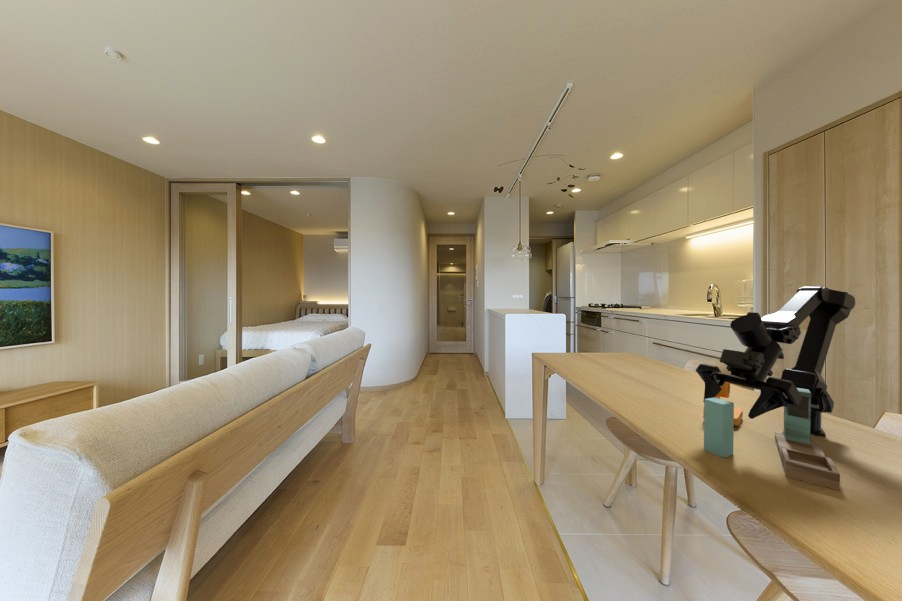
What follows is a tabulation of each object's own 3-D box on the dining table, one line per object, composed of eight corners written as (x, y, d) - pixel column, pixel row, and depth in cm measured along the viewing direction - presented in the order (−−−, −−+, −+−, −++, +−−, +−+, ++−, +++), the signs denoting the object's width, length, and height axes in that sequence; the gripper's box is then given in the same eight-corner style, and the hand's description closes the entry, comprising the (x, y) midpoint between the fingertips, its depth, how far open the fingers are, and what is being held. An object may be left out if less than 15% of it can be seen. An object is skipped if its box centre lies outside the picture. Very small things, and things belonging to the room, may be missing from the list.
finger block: (714, 446, 77) (714, 397, 76) (733, 454, 73) (734, 402, 73) (703, 449, 76) (704, 399, 75) (722, 457, 72) (723, 404, 71)
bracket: (737, 429, 86) (737, 385, 86) (703, 421, 92) (703, 379, 92) (743, 418, 94) (743, 377, 93) (711, 411, 99) (711, 372, 99)
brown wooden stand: (774, 437, 81) (775, 384, 80) (816, 446, 76) (817, 390, 76) (785, 476, 64) (786, 410, 64) (839, 490, 60) (841, 419, 59)
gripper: (701, 333, 85) (670, 377, 82) (795, 343, 67) (760, 401, 64) (720, 360, 88) (691, 405, 84) (816, 377, 70) (783, 434, 67)
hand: (726, 410), depth 75 cm, fingers open, 9 cm apart
